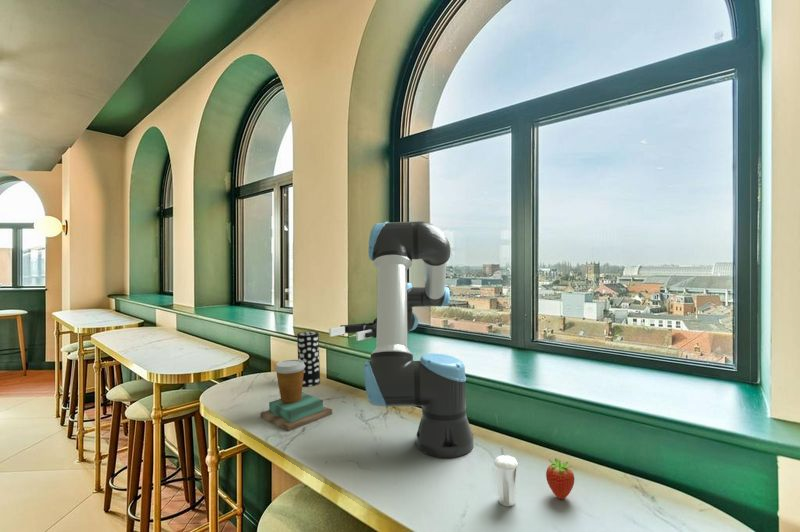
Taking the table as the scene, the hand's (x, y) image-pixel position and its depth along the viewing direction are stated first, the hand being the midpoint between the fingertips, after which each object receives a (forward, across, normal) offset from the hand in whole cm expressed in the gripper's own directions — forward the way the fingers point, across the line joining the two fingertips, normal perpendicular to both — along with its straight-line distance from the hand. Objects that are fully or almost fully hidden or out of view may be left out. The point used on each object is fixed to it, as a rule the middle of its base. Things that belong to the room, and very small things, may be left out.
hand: (342, 334), depth 135 cm
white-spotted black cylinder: (-8, +31, -24) cm, 40 cm away
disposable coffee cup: (+14, +9, -20) cm, 26 cm away
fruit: (+6, -73, -26) cm, 78 cm away
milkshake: (+14, -65, -26) cm, 71 cm away
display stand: (+14, +7, -24) cm, 29 cm away
